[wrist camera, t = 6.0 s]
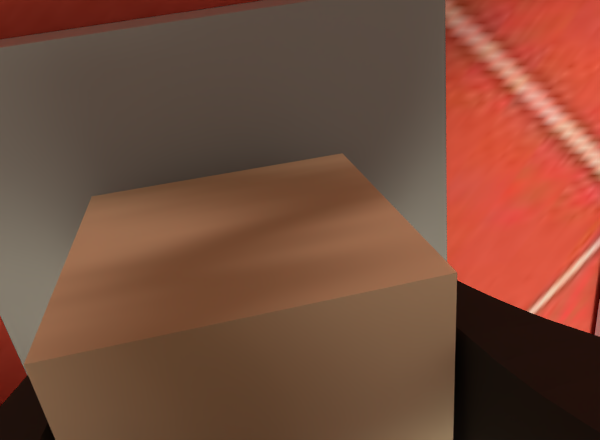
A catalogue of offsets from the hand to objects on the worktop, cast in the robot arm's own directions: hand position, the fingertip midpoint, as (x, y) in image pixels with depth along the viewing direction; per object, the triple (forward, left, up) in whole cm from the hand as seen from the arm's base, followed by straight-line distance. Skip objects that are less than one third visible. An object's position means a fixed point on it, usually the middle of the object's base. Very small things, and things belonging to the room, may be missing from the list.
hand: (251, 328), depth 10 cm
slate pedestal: (0, 0, -6) cm, 6 cm away
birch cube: (0, 0, -2) cm, 2 cm away
